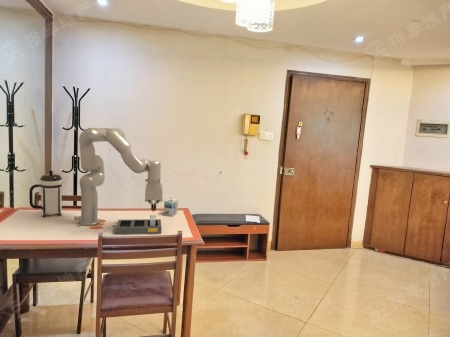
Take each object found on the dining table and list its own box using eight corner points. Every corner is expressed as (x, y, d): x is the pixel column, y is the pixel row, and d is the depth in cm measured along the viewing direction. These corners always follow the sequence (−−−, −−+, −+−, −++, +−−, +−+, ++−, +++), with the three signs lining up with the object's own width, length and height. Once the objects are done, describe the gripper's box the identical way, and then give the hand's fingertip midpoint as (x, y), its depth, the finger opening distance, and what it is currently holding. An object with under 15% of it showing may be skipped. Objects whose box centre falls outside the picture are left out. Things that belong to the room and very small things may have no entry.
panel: (150, 230, 196) (150, 219, 195) (149, 225, 206) (150, 214, 205) (155, 230, 197) (155, 219, 196) (154, 225, 207) (155, 214, 206)
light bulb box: (172, 216, 231) (173, 201, 229) (163, 215, 232) (164, 200, 231) (177, 213, 241) (178, 198, 240) (169, 212, 243) (169, 197, 241)
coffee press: (51, 210, 229) (50, 167, 225) (69, 213, 224) (68, 170, 220) (29, 216, 213) (27, 170, 209) (47, 220, 208) (46, 173, 204)
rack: (115, 234, 189) (115, 228, 189) (118, 225, 205) (118, 219, 204) (161, 234, 195) (161, 227, 194) (160, 225, 211) (160, 219, 210)
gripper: (141, 182, 192) (140, 212, 195) (166, 182, 196) (166, 212, 198) (141, 180, 200) (141, 209, 202) (166, 180, 203) (165, 209, 206)
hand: (153, 210), depth 200 cm, fingers closed
